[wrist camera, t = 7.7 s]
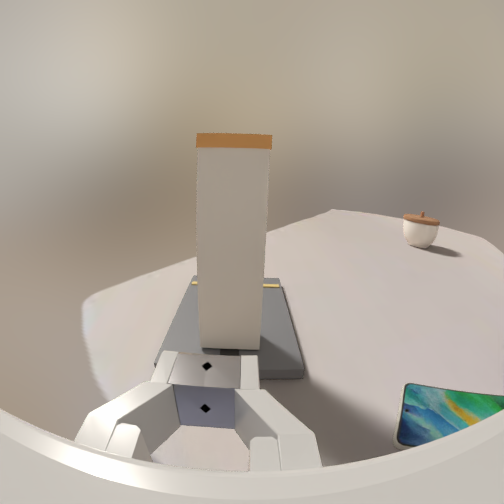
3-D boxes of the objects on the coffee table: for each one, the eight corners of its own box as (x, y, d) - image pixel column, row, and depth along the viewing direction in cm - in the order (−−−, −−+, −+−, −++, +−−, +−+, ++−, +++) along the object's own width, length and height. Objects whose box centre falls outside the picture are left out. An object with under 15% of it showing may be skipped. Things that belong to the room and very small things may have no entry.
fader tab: (260, 350, 23) (272, 135, 19) (199, 347, 23) (196, 133, 18) (258, 330, 26) (268, 139, 22) (203, 328, 26) (203, 138, 21)
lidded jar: (420, 240, 75) (424, 210, 72) (442, 250, 64) (448, 216, 62) (393, 239, 74) (397, 207, 71) (414, 250, 63) (420, 213, 61)
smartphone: (547, 451, 7) (392, 444, 13) (541, 458, 7) (388, 451, 14) (533, 396, 13) (403, 379, 19) (529, 402, 13) (400, 387, 20)
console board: (302, 378, 21) (304, 367, 21) (155, 372, 21) (153, 361, 21) (278, 284, 41) (278, 277, 40) (193, 282, 40) (193, 274, 40)
